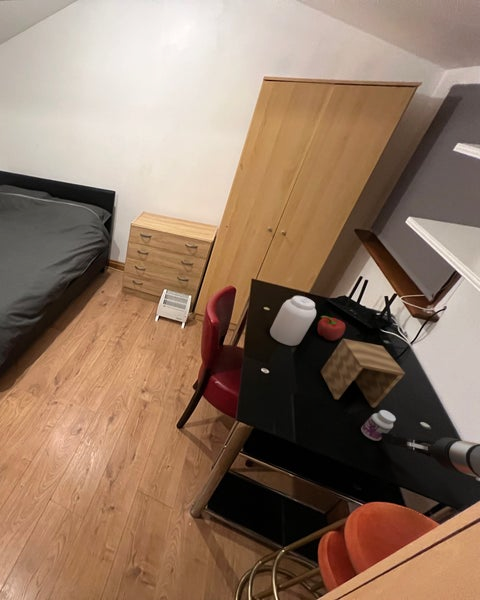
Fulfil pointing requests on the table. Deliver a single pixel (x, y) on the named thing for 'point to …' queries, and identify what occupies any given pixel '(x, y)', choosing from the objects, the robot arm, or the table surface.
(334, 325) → the vegetable
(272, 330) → the white jar
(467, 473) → the robot arm
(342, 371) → the cubby
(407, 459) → the table surface
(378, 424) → the pill bottle
